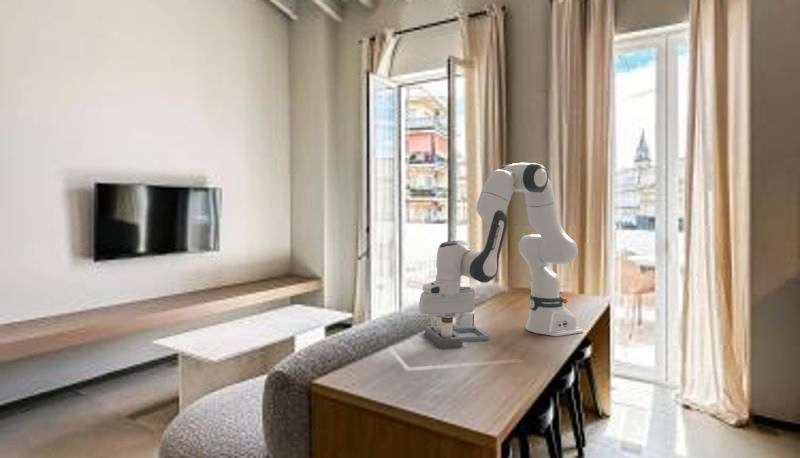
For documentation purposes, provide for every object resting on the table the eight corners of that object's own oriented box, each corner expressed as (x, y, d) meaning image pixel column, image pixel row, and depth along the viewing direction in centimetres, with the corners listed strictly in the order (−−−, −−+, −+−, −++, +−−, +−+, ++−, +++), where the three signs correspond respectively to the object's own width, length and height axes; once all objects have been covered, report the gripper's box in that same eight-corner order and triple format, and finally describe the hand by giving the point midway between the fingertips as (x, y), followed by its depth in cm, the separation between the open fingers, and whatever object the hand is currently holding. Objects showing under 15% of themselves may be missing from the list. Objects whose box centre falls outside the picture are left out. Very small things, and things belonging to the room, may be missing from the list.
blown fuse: (449, 341, 178) (450, 315, 177) (453, 344, 174) (454, 318, 173) (439, 342, 177) (440, 316, 176) (443, 345, 173) (443, 319, 172)
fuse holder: (421, 335, 187) (421, 325, 187) (445, 334, 190) (445, 324, 190) (438, 352, 168) (439, 340, 168) (465, 350, 171) (466, 339, 170)
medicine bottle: (472, 331, 195) (473, 301, 195) (455, 329, 197) (456, 300, 196) (473, 326, 202) (474, 298, 202) (456, 325, 204) (457, 297, 203)
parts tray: (474, 333, 192) (475, 327, 192) (488, 342, 181) (488, 335, 181) (448, 334, 189) (449, 328, 189) (460, 344, 178) (460, 337, 178)
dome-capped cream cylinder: (441, 335, 185) (442, 310, 185) (445, 338, 181) (446, 313, 181) (432, 335, 184) (432, 311, 184) (435, 338, 180) (436, 313, 180)
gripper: (471, 284, 179) (469, 321, 180) (418, 285, 174) (416, 323, 175) (478, 288, 173) (476, 326, 174) (423, 289, 168) (422, 328, 169)
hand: (446, 325), depth 174 cm, fingers open, 8 cm apart
